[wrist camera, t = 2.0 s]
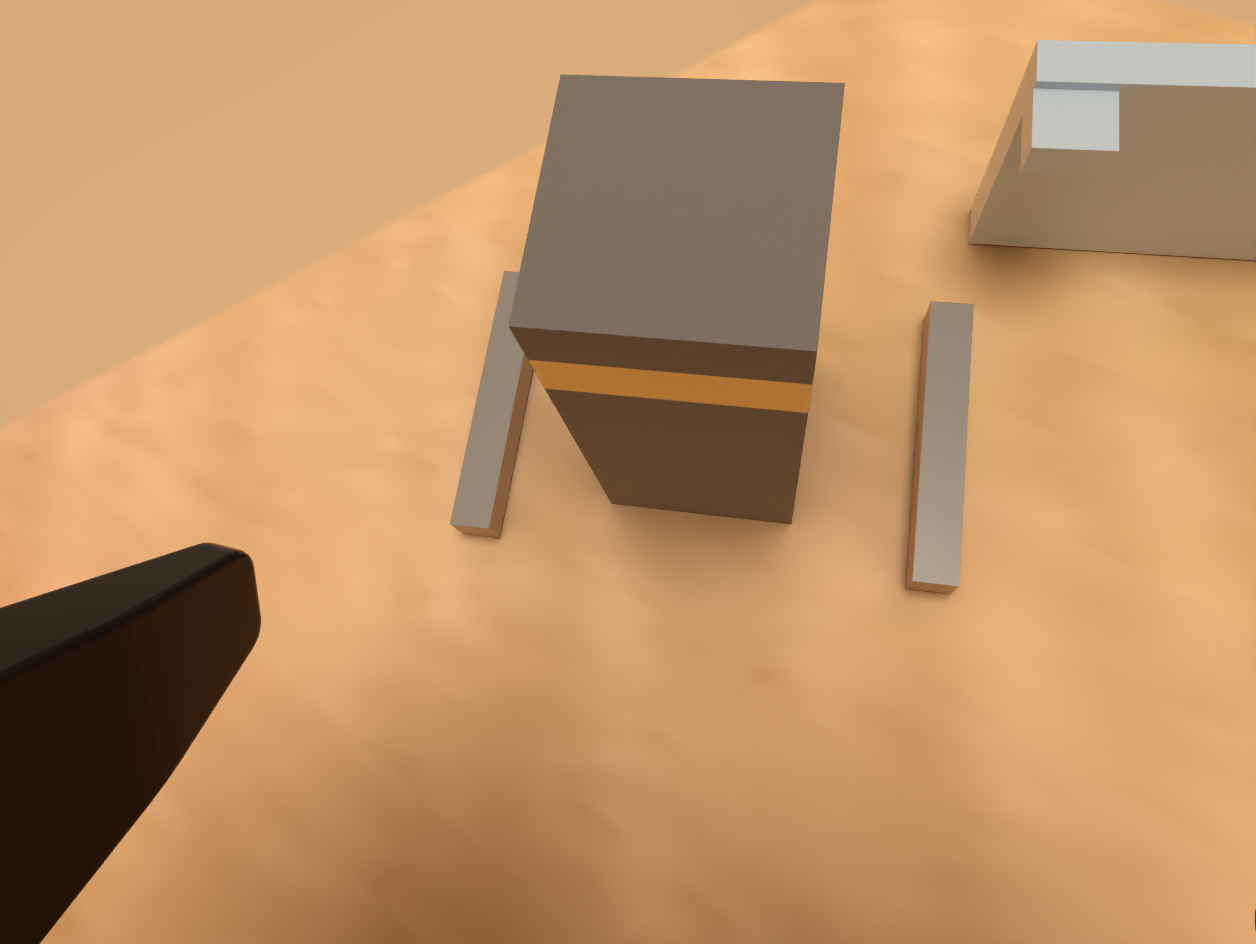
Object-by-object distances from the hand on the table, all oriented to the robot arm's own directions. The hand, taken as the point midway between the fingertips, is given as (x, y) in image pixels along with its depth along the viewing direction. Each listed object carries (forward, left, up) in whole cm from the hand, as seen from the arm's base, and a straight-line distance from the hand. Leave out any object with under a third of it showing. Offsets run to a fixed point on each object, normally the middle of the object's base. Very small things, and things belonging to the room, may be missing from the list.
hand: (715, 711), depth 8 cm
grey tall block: (+6, +4, -14) cm, 16 cm away
